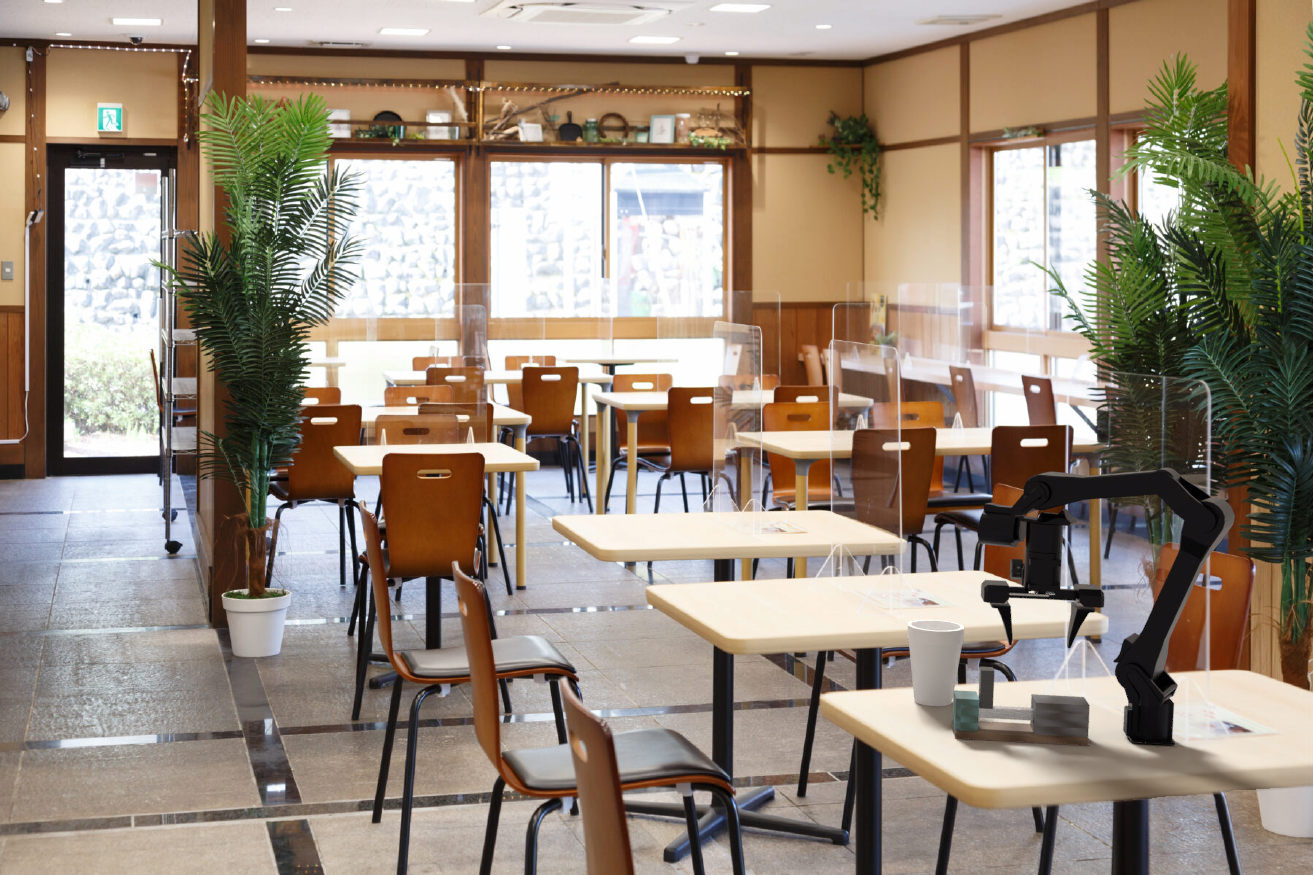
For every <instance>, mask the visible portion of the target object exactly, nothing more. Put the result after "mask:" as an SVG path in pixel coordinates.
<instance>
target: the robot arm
mask: <svg viewBox="0 0 1313 875" xmlns="http://www.w3.org/2000/svg"><path fill="white" fill-rule="evenodd" d="M1155 495H1156V496H1157V497H1159V498H1160V499H1161V500H1162V501H1163V502H1164V503H1165V504H1166V506H1168V507H1169V508H1170V510H1172V512H1173V513H1175V515H1177V516H1178V517H1179V518H1180V519H1181V520H1183V522H1182V528H1181V532H1180V535H1179V536H1180V537H1179V546H1178V547H1179V548H1178V552H1177V555H1176V557H1175V559H1174V561H1173V564H1172V565H1171V567H1170V570H1169V572H1168V574H1167V577H1166V579H1165V580H1164V583H1163V585H1162V587H1161V589H1160V591H1159V593H1158V596H1157V597H1156V600H1155V602H1154V605H1153V607H1152V609H1151V611H1150V613H1149V615H1148V617H1147V619H1146V622H1145V624H1144V626H1143V629H1142V631H1141V632H1140V633H1139V634H1137V632H1134V633H1132V634H1130V635H1128V636H1127V637H1126V638H1123V641H1122V644H1121V647H1120V651H1119V654H1118V655H1117V657H1116V658H1114V659H1113V661H1112V662H1113V663H1114V664H1115V663H1116V665H1115V669H1114V676H1115V678H1116V680H1117V682H1118V684H1119V685H1120V686H1121V687H1122V688H1123V689H1124V692H1125V695H1126V698H1127V701H1128V703H1127V705H1125V706H1124V707H1123V727H1122V731H1123V732H1124V734H1125V735H1126V736H1127V738H1128V739H1129V741H1130V742H1131V743H1132V744H1149V745H1166V746H1168V745H1169V746H1175V745H1176V741H1175V740H1174V738H1173V736H1174V735H1173V732H1174V731H1173V730H1174V714H1175V712H1174V710H1175V702H1173V700H1172V699H1171V698H1172V697H1174V696H1175V693H1176V692H1177V689H1178V686H1179V685H1178V683H1177V682H1176V681H1175V680H1174V678H1172V676H1171V675H1170V674H1169V673H1168V671H1166V670H1165V667H1166V662H1167V658H1168V652H1169V644H1170V638H1171V636H1172V633H1173V631H1174V629H1175V628H1176V625H1177V622H1178V621H1179V619H1180V616H1181V615H1182V612H1183V610H1184V608H1185V606H1186V604H1187V602H1188V599H1189V597H1190V596H1191V593H1192V590H1193V588H1194V586H1195V585H1196V582H1197V580H1198V578H1199V576H1200V574H1201V572H1202V569H1203V568H1204V565H1205V563H1206V561H1207V559H1208V558H1209V557H1210V555H1211V554H1212V553H1213V552H1214V550H1216V548H1217V547H1218V545H1219V544H1220V543H1221V542H1222V540H1223V539H1224V538H1225V536H1226V535H1227V534H1228V532H1229V531H1230V529H1231V528H1232V526H1233V525H1234V522H1235V513H1234V510H1233V508H1232V506H1231V505H1230V504H1229V503H1228V501H1226V500H1225V499H1223V498H1219V497H1212V495H1210V494H1208V493H1207V492H1206V491H1205V490H1203V489H1202V488H1200V487H1199V486H1197V485H1195V484H1194V483H1192V482H1191V481H1189V480H1188V479H1186V478H1185V477H1183V476H1182V475H1181V474H1180V473H1178V472H1177V470H1176V469H1174V468H1171V467H1161V468H1160V469H1154V470H1153V469H1152V470H1143V471H1132V472H1131V471H1130V472H1120V473H1119V472H1118V473H1107V474H1095V475H1085V474H1084V475H1083V474H1076V473H1071V472H1069V473H1068V472H1058V471H1047V472H1043V473H1039V474H1034V475H1032V476H1030V477H1029V478H1028V479H1027V481H1026V482H1025V483H1024V486H1023V493H1022V495H1021V496H1020V497H1019V498H1018V500H1016V502H1015V503H1014V504H1013V505H1003V504H998V503H995V502H988V503H984V504H983V511H982V513H981V515H980V517H979V520H978V521H979V522H978V524H977V528H976V530H977V534H976V535H977V540H978V541H979V543H980V544H981V545H989V546H996V547H997V546H998V547H1007V548H1017V547H1018V546H1019V544H1020V543H1023V542H1025V548H1024V550H1025V551H1024V560H1023V559H1021V558H1020V559H1019V558H1011V559H1010V560H1009V561H1010V565H1009V578H1010V580H1020V586H1012V585H1011V586H1010V585H1009V583H1008V582H1007V580H995V579H984V580H983V581H982V582H981V584H980V597H981V599H982V601H983V602H984V603H988V604H990V605H989V606H990V607H991V608H992V609H997V611H998V613H999V615H1000V617H1001V621H1002V625H1003V628H1004V632H1005V636H1006V639H1007V642H1008V645H1009V646H1012V645H1013V639H1014V637H1013V622H1012V609H1011V608H1012V606H1011V605H1010V603H1009V601H1010V599H1026V600H1027V599H1029V600H1030V599H1031V600H1050V601H1052V600H1053V601H1055V600H1056V601H1070V616H1069V624H1068V631H1067V636H1066V648H1067V649H1071V648H1072V646H1073V644H1074V643H1075V642H1074V641H1075V639H1076V637H1077V634H1078V632H1079V631H1080V628H1081V627H1082V625H1083V624H1084V621H1085V620H1086V618H1087V617H1088V615H1089V614H1093V613H1096V609H1097V608H1101V609H1102V608H1105V593H1104V591H1103V590H1102V589H1101V588H1100V587H1099V586H1098V585H1097V584H1088V583H1074V585H1073V588H1061V585H1062V584H1061V582H1062V581H1061V579H1062V563H1063V561H1062V558H1063V557H1062V556H1063V535H1064V527H1065V526H1066V527H1069V526H1073V525H1075V524H1077V522H1078V520H1077V518H1075V517H1074V516H1073V515H1072V514H1071V513H1070V512H1069V510H1068V509H1067V508H1065V509H1061V510H1060V512H1057V513H1055V512H1048V511H1047V512H1046V510H1051V509H1054V508H1059V507H1063V506H1065V505H1069V504H1074V503H1078V502H1081V501H1086V500H1089V501H1090V500H1101V499H1114V498H1129V497H1139V496H1141V497H1142V496H1155ZM1038 511H1042V512H1040V513H1039V514H1038V516H1029V515H1028V516H1027V514H1030V513H1034V512H1038Z"/></svg>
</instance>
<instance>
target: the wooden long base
mask: <svg viewBox="0 0 1313 875" xmlns="http://www.w3.org/2000/svg"><path fill="white" fill-rule="evenodd" d="M1030 696H1031V697H1030V698H1031V699H1030V708H1034V721H1030V720H1029V721H1030V722H1029V723H1023V722H1007V721H1006V722H1003V721H1000V722H999V721H987V720H985V721H982V720H979V719H980V718H979V694H978V693H977V691H974V690H958V689H957V690H956V689H954V693H953V700H952V719H951V727H952V728H951V729H952V731H953V732H952V733H953V736H954V739H956V740H957V739H958V740H959V739H961V740H975V741H994V742H1013V743H1016V742H1017V743H1027V744H1029V743H1030V744H1031V743H1032V744H1049V745H1064V746H1065V745H1066V746H1069V745H1070V746H1085V747H1089V746H1090V738H1089V727H1090V726H1089V725H1090V704H1089V703H1088V701H1087V699H1086V697H1084V696H1071V695H1069V696H1068V695H1053V694H1052V695H1051V694H1035V693H1033V694H1031V695H1030Z"/></svg>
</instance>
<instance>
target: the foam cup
mask: <svg viewBox="0 0 1313 875" xmlns="http://www.w3.org/2000/svg"><path fill="white" fill-rule="evenodd" d="M906 633H907V634H906V637H907V640H908V646H909V648H908V649H909V655H910V656H909V657H910V668H911V677H912V678H911V679H912V690H913V700H914V702H915V703H917V704H919V705H923V706H929V707H944V706H945V707H947V706H950V705H951V704H952V705H953V693H954V690H955V689H956V688H955V687H956V681H957V675H958V671H959V670H958V669H959V664H960V658H961V652H962V647H963V643H964V639H965V638H964V637H965V627H964V625H963V624H961V623H958V622H955V621H950V620H942V619H915V620H911V621H908V622H907V632H906Z"/></svg>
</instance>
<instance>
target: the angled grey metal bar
mask: <svg viewBox="0 0 1313 875" xmlns="http://www.w3.org/2000/svg"><path fill="white" fill-rule="evenodd" d="M978 675H979V677H978V678H979V679H978V680H979V681H978V698H979V719H991V720H992V719H996V720H997V719H998V720H1015V721H1034V708H1031V707H1024V706H1023V707H1021V706H1005V705H1004V706H1002V705H994V694H995V693H994V691H995V668H994V667H993V666H979V674H978Z"/></svg>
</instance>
